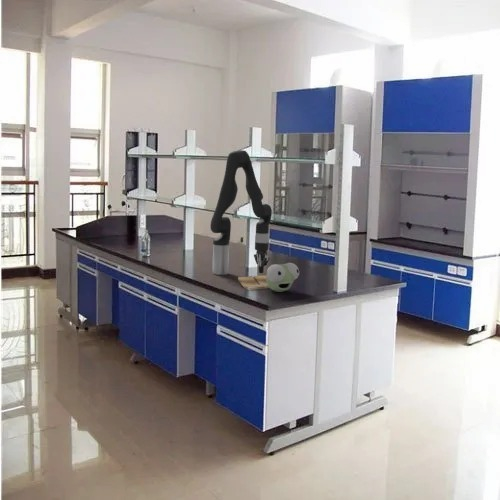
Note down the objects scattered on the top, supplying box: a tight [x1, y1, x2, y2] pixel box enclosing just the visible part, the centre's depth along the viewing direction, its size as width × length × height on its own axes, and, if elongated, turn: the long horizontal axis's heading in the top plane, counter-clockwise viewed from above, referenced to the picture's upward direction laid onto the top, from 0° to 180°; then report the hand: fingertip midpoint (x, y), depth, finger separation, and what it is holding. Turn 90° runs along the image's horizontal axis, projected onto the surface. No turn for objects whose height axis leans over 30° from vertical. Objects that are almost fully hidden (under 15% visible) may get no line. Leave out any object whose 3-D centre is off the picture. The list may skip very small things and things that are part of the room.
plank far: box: [252, 274, 267, 285], centre depth 322 cm, size 8×8×1 cm
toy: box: [265, 262, 300, 293], centre depth 305 cm, size 18×15×15 cm
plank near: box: [237, 275, 259, 289], centre depth 317 cm, size 8×8×1 cm
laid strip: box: [244, 284, 271, 291], centre depth 314 cm, size 5×18×1 cm, turn 121°
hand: (261, 272), depth 323 cm, fingers closed
